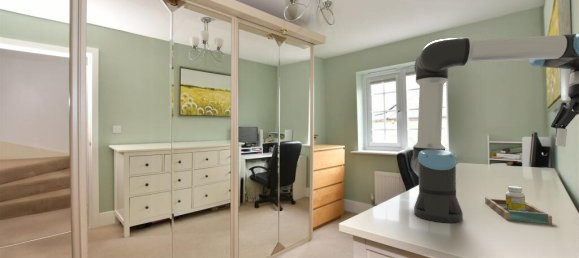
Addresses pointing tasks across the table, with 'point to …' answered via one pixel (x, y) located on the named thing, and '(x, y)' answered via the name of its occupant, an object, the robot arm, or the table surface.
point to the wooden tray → (519, 212)
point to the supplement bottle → (515, 199)
